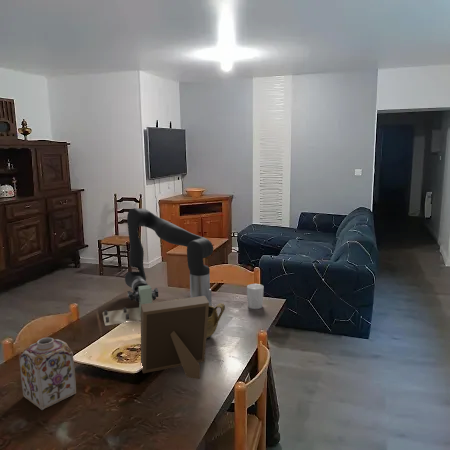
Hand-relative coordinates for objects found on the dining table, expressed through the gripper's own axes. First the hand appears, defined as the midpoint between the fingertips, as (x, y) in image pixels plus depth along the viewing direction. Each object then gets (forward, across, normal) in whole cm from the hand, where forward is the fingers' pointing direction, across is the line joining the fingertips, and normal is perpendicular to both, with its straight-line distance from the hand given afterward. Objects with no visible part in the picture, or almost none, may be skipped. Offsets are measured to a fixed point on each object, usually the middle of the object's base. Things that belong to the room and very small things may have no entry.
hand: (146, 299), depth 190 cm
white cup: (+5, +50, +9) cm, 51 cm away
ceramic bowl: (+28, +16, +9) cm, 33 cm away
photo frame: (+51, +2, +9) cm, 51 cm away
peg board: (-2, -6, +9) cm, 11 cm away
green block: (-2, 0, +7) cm, 8 cm away
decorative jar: (+51, -38, +9) cm, 64 cm away
